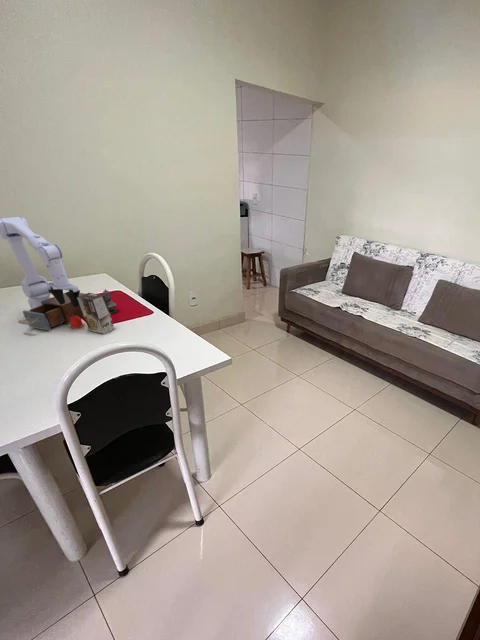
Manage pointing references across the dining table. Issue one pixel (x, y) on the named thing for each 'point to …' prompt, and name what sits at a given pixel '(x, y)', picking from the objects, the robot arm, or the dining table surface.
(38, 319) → the drawer
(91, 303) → the coffee box
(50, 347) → the dining table surface
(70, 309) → the cabinet
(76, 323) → the pepper
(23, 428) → the dining table surface
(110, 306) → the grey statue
